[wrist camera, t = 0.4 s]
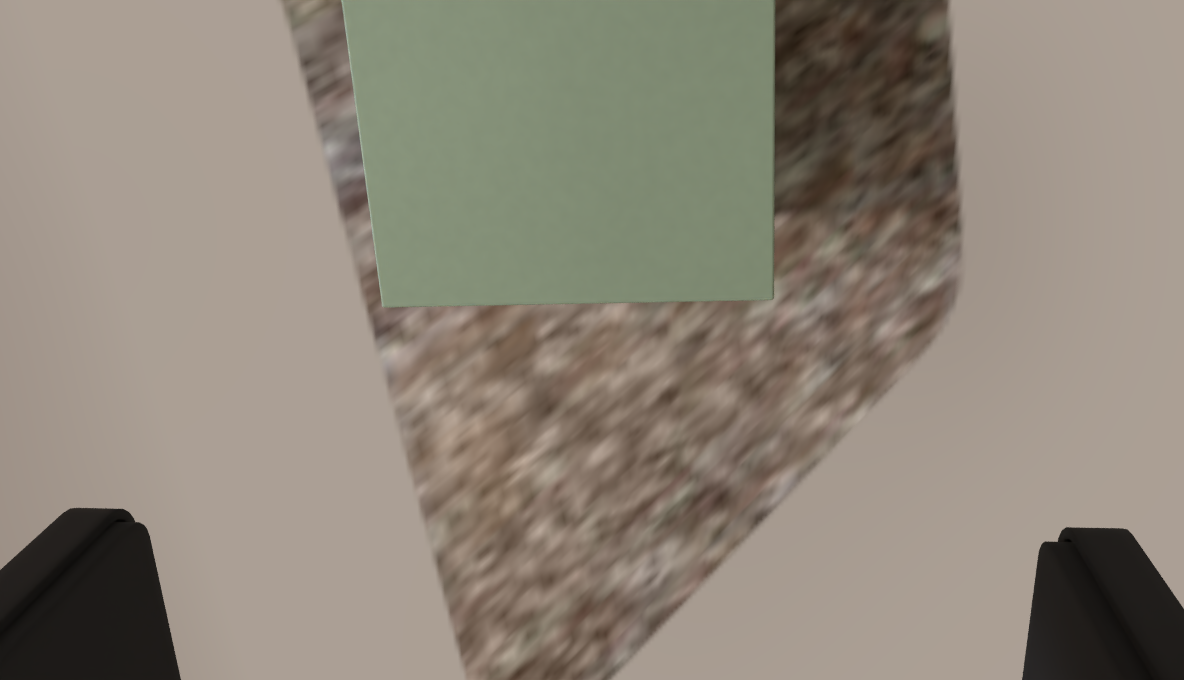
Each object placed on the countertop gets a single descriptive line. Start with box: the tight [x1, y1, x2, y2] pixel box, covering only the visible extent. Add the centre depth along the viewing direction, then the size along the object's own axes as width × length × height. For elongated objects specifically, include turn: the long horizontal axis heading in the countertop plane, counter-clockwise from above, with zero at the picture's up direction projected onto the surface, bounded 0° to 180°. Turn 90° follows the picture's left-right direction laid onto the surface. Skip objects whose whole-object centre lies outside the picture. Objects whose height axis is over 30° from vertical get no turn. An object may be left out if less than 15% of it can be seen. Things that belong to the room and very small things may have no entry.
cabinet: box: [342, 0, 775, 307], centre depth 33 cm, size 14×12×10 cm
